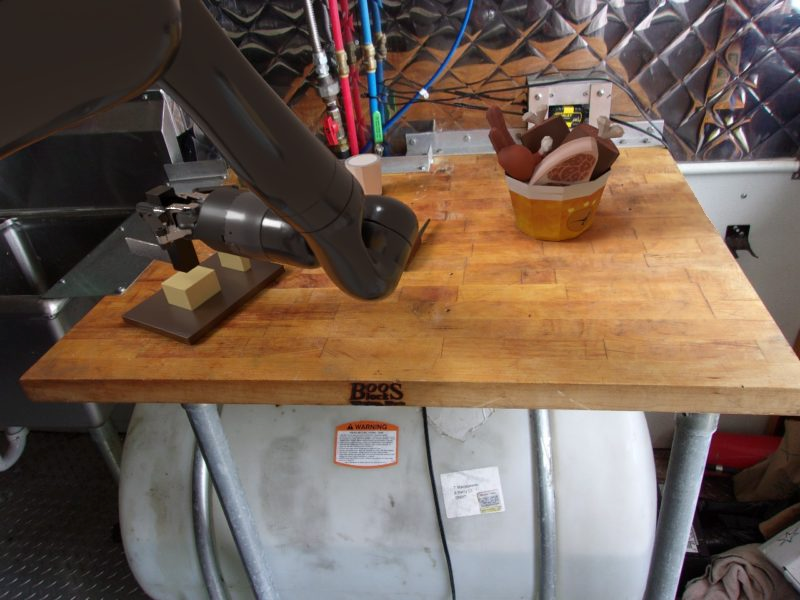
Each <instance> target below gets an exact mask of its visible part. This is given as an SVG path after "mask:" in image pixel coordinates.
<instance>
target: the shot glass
mask: <svg viewBox="0 0 800 600" xmlns="http://www.w3.org/2000/svg"><path fill="white" fill-rule="evenodd" d="M344 166H345V167H346V168H347V169H348V170H349V171H350V172H351V173H352V174H353V175H354V176H355V178H356V179H357V180H358V181H359V183H360V184H361V186H362V188H363V190H364V193H365V195H368V194H374V195H383V183H382V182H383V181H382V177H383V176H382V158H381V156H380V155H379V154H377V153H361V154H356V155H353V156H350V157H348V158H346V160H345V161H344Z"/></svg>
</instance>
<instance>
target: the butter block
mask: <svg viewBox="0 0 800 600" xmlns="http://www.w3.org/2000/svg"><path fill="white" fill-rule="evenodd" d="M160 285H161V287H162V288H163V290H164V292H165V295H166V297H167V300H168V302H169V304H172V305H176V306H179V307H182V308H185V309H189V310H192V311H193V310H194V309H195V308H197V307H198V306H200V305H201V304H202V303H204V302H205V301H206V300H208V299H209V298H210V297H212V296H213V295H215V294H216V293H217V292H219V291H220V290H221V288H220V285H219V282H218V279H217V276H216V273H215V270H213V269H209V268H205V267H201V266H197V267H195V268H194V269H192V270H191V271H189V272H188V273H184V272H180V271H177V272H176V273H175V274H172V276H170V277H168V278H167V279H166V280H164V281H162V282H161V283H160ZM162 288H161V289H162Z"/></svg>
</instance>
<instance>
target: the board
mask: <svg viewBox="0 0 800 600" xmlns="http://www.w3.org/2000/svg"><path fill="white" fill-rule="evenodd" d="M249 262H250V265H251V268H250V269H248V270H247V271H246V272H243V271H239V270H235V269H231V268H227V267H223V266H222V265H221V262H220V259H219V255H218V252H217V251H215V253H213V254H212V255H210V256H209V257H207V258H206V259H205V260H203V261H201V262H200V265H198V266H201V267H205V268H209V269H213V270H215V273H216V276H217V279H218V282H219V285H220V288H221V290H220V291H219V292H217V293H216V294H215V295H213V296H212V297H210V298H209V299H208V300H206V301H205V302H204V303H202V304H201V305H200V306H198V307H197V308H195V309H194V310H193V311H192V310H189V309H185V308H182V307H179V306H176V305H172V304H169V302H168V300H167V297H166V295H165V292H164V290H163V288H161V289H159V290H158V291H156V292H155V293H153V294H152V295H150V296H148V297H147V298H145V299H144V300H142V301H141V302H140V303H138V304H136V305H135V306H134V307H132V308H130V309H129V310H128V311H126V312H124V313H123V314H122V315H121V318H122V321H123V323H126V324H128V325H131V326H134V327H137V328H139V329H143V330H144V331H149V332H151V333H154V334H157V335H160V336H163V337H165V338H169V339H171V340H174V341H178V342H180V343H183V344H186V345H189V346H192V345H194V343H196V342H197V341H198V340H200V339H201V338H202V337H203V336H205V335H206V334H207V333H208V332H210V331H211V330H212V329H214V328H215V327H216V326H217V325H219V324H220V323H221V322H222V321H224V320H225V319H226V318H228V317H229V316H230V315H231V314H233V313H234V312H235V311H237V310H238V309H239V308H240V307H241V306H243V305H244V304H245V303H247V302H248V301H250V300H251V299H252V298H253V297H254V296H255V295H257V294H258V293H260V292H261V291H262V290H264V289H265V288H266V287H267V286H268V285H269V284H271V283H272V282H273V281H275V280H276V279H278V278H279V277H280V276H281V275H282V274H284V273H285V272H286V269H285V266H284V265H285V264H282V263H277V262H265V261H258V260H253V259H249Z"/></svg>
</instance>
